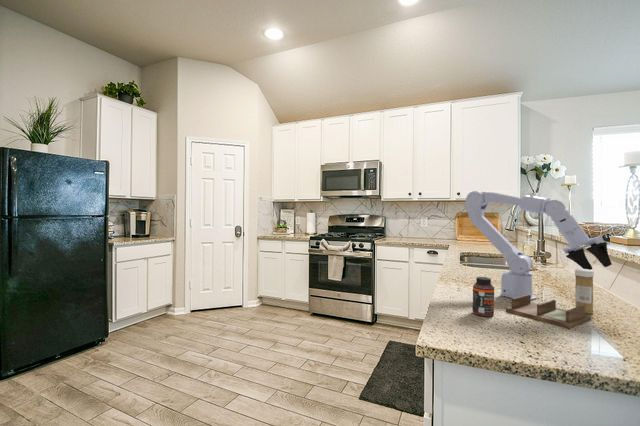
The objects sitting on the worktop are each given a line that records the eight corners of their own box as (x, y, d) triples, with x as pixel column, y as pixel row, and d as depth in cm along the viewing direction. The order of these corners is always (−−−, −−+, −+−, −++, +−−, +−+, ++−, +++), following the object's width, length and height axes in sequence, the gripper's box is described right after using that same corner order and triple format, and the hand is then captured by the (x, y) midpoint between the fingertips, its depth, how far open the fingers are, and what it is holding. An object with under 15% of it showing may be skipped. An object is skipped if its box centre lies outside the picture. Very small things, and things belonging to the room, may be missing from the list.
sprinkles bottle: (595, 312, 98) (595, 270, 98) (590, 315, 96) (590, 271, 96) (577, 308, 102) (577, 267, 102) (572, 311, 99) (572, 269, 99)
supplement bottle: (486, 318, 92) (486, 280, 92) (468, 312, 98) (468, 277, 98) (498, 315, 95) (498, 278, 95) (480, 310, 100) (480, 275, 100)
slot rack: (505, 311, 99) (505, 298, 99) (528, 304, 106) (528, 292, 106) (569, 328, 85) (569, 313, 85) (590, 319, 92) (590, 305, 92)
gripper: (598, 219, 99) (628, 258, 94) (566, 233, 112) (591, 267, 108) (580, 227, 98) (609, 267, 94) (549, 240, 112) (574, 275, 107)
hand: (598, 268), depth 101 cm, fingers open, 7 cm apart
